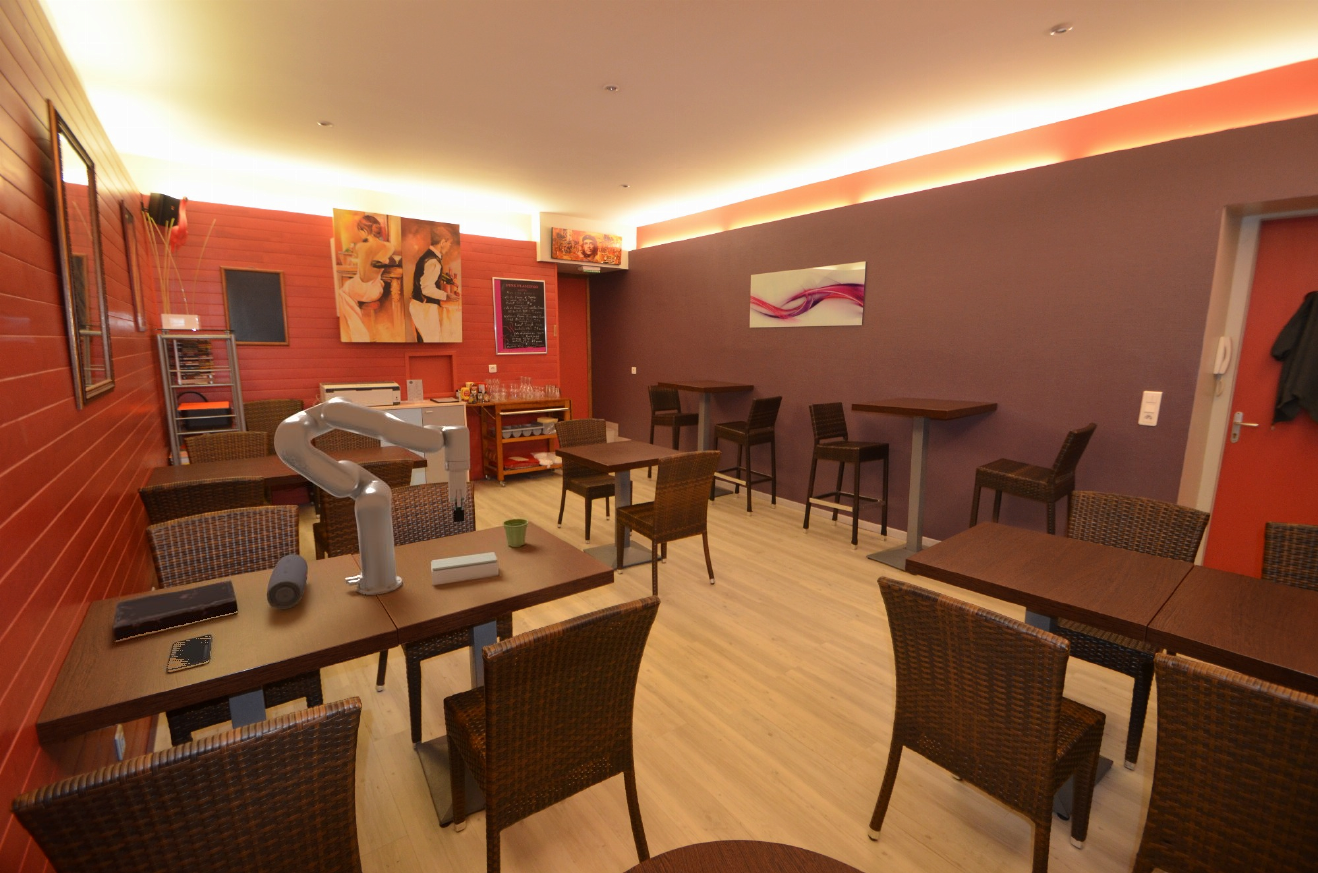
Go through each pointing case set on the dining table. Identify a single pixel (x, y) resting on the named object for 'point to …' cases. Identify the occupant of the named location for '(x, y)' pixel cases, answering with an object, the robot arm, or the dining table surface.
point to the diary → (173, 609)
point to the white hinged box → (464, 573)
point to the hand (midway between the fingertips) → (459, 520)
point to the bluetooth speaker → (287, 582)
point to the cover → (463, 561)
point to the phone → (192, 651)
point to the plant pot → (515, 531)
